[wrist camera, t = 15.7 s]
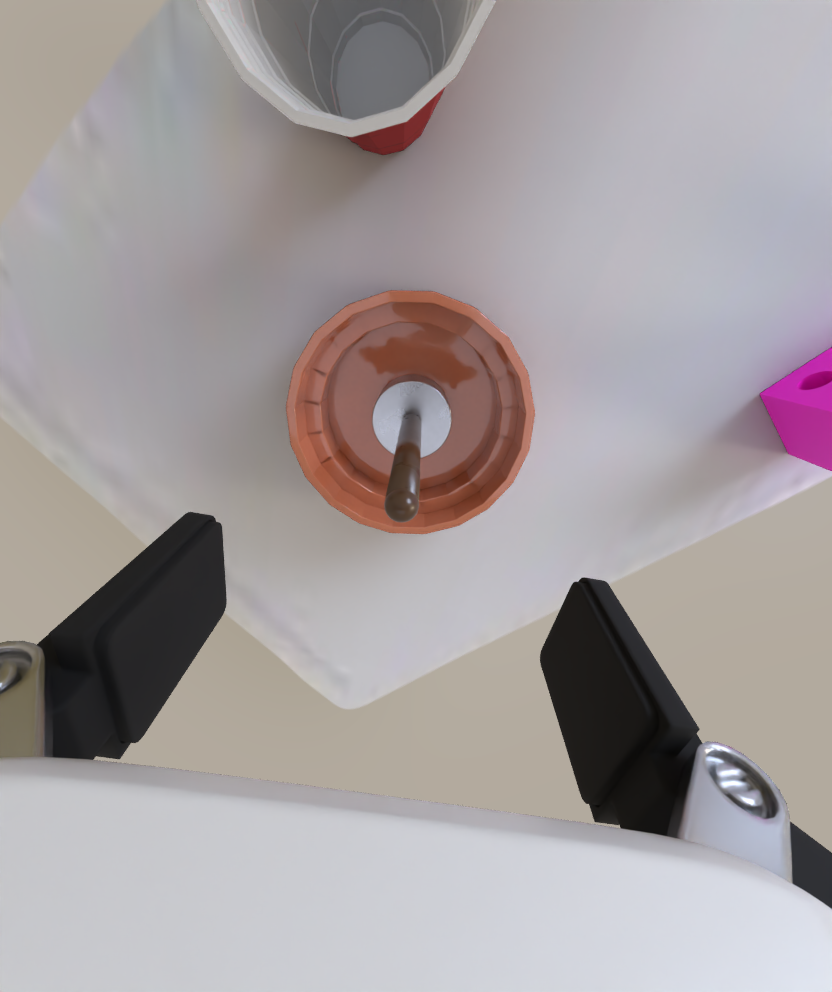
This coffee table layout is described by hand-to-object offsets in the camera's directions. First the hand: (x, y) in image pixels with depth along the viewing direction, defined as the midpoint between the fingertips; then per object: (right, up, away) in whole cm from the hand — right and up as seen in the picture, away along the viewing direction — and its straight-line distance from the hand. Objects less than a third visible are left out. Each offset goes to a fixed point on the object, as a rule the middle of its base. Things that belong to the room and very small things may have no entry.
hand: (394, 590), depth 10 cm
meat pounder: (0, +9, +19) cm, 21 cm away
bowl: (0, +9, +20) cm, 22 cm away
